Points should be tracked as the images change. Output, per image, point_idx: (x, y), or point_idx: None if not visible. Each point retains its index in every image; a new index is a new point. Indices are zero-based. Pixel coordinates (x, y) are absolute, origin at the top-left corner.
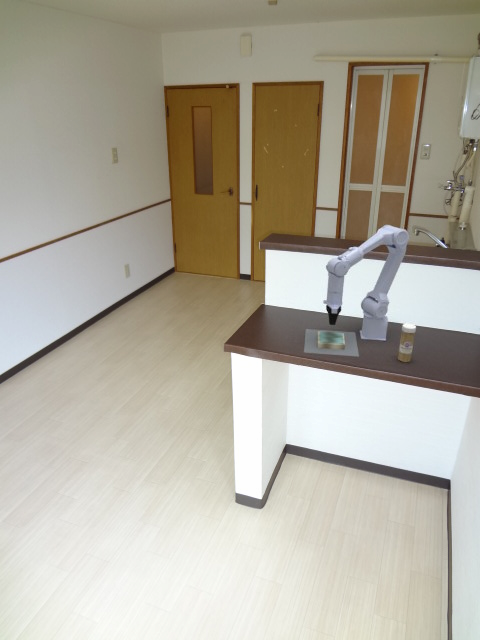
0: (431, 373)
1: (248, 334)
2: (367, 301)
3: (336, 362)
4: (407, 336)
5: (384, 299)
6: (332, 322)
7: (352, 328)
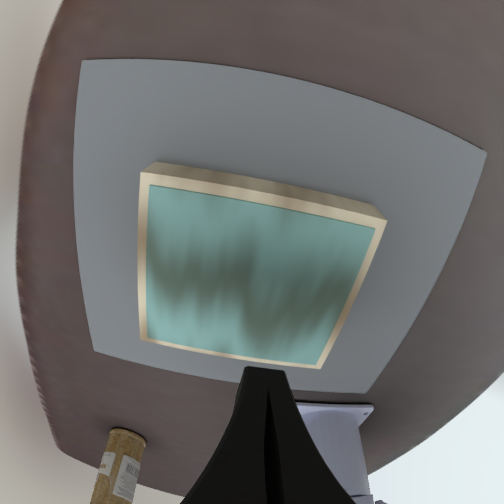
0: (77, 438)
1: None
2: None
3: (23, 243)
4: (90, 502)
5: None
6: (235, 405)
7: (413, 384)
